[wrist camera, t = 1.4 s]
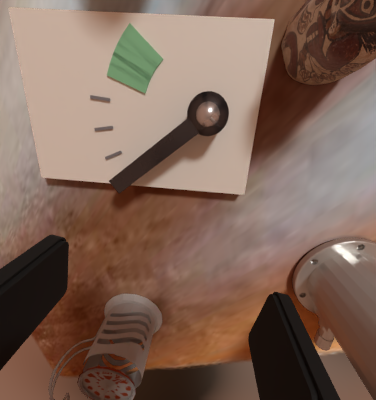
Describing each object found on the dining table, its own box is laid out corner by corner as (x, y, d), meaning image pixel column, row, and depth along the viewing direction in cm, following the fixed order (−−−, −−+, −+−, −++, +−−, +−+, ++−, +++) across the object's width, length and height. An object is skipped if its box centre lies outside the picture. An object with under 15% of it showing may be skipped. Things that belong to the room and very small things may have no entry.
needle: (212, 86, 19) (213, 80, 16) (233, 119, 20) (237, 119, 17) (112, 168, 22) (100, 173, 20) (133, 193, 23) (124, 201, 21)
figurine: (299, -15, 18) (467, -259, 6) (378, 3, 18) (683, -207, 6) (270, 77, 20) (354, 18, 9) (339, 93, 20) (508, 54, 9)
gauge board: (241, 190, 24) (244, 195, 23) (50, 174, 26) (39, 178, 24) (269, 27, 19) (275, 17, 17) (22, 15, 20) (5, 5, 18)
